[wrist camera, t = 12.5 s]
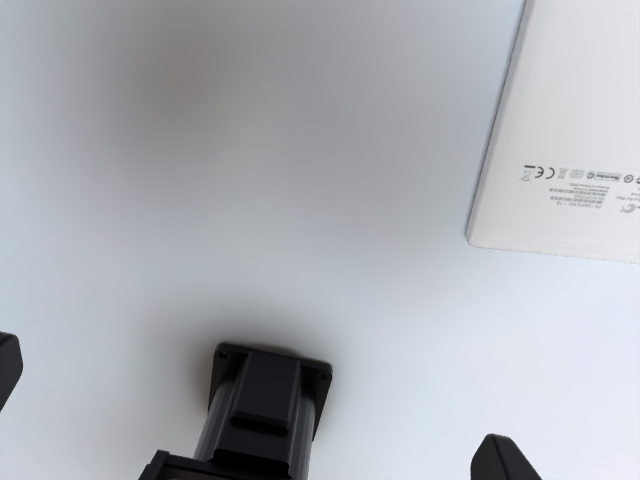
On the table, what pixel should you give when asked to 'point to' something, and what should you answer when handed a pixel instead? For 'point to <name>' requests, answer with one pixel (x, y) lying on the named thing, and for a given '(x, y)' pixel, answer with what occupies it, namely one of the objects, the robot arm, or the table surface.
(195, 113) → the table surface
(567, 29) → the external hard drive
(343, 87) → the table surface
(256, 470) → the robot arm
